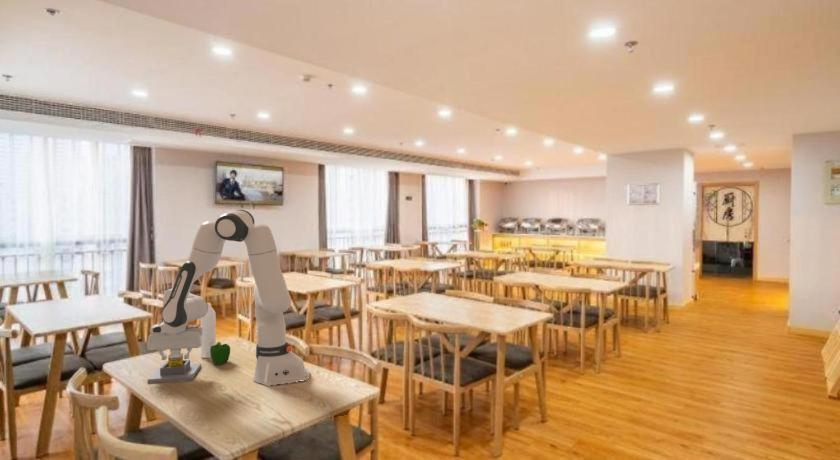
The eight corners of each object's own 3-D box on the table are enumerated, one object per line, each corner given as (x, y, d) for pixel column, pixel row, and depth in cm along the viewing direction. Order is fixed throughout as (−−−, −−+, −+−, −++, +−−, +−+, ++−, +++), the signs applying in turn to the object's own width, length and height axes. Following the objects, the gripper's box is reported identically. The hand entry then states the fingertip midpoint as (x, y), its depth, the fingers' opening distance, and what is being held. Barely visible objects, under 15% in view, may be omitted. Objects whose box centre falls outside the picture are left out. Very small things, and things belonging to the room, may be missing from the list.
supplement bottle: (181, 368, 197) (182, 345, 196) (183, 372, 193) (183, 349, 192) (167, 370, 194) (167, 347, 193) (169, 374, 190) (169, 351, 189)
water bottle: (213, 353, 222) (213, 301, 221) (217, 356, 217) (217, 303, 215) (193, 356, 216) (193, 303, 215) (197, 360, 211) (197, 305, 210)
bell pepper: (219, 358, 214) (219, 337, 213) (234, 361, 211) (234, 339, 211) (205, 364, 206) (205, 342, 206) (220, 367, 203) (220, 344, 203)
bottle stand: (200, 366, 203) (200, 356, 203) (191, 380, 188) (191, 369, 187) (160, 368, 200) (160, 358, 199) (147, 383, 184) (147, 371, 184)
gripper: (204, 323, 198) (204, 355, 199) (150, 325, 193) (151, 357, 194) (200, 327, 192) (200, 360, 193) (145, 329, 187) (146, 362, 188)
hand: (175, 359), depth 193 cm, fingers open, 7 cm apart
